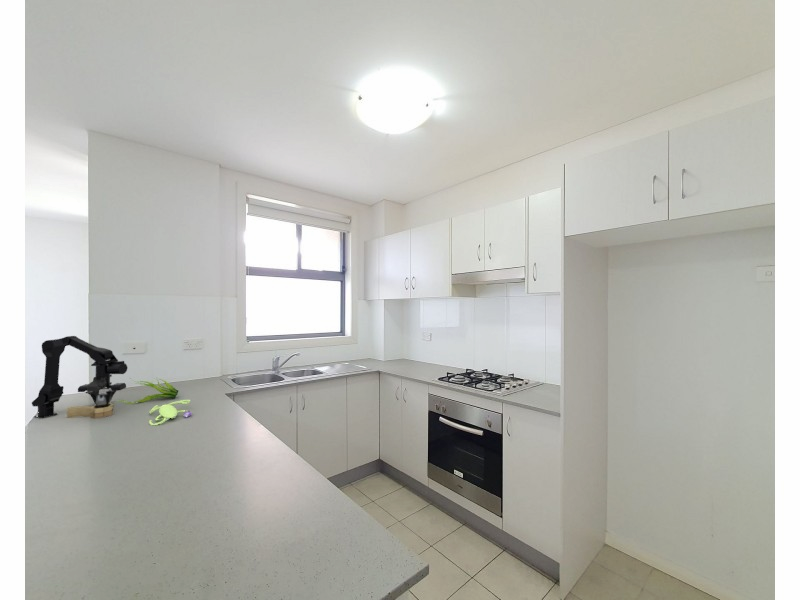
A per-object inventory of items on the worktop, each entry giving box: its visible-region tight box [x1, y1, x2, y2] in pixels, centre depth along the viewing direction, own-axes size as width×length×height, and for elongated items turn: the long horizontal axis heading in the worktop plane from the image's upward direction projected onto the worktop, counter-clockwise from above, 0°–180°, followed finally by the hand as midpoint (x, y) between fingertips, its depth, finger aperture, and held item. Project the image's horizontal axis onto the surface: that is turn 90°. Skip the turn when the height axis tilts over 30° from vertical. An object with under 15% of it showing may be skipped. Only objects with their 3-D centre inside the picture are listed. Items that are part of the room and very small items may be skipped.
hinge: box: [66, 402, 115, 419], centre depth 171 cm, size 18×16×5 cm
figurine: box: [148, 399, 193, 426], centre depth 171 cm, size 18×27×6 cm
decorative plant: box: [111, 377, 179, 404], centre depth 194 cm, size 18×30×15 cm, turn 95°
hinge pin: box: [96, 393, 109, 408], centre depth 170 cm, size 5×5×7 cm
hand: (102, 403), depth 170 cm, fingers closed on hinge pin, 5 cm apart
